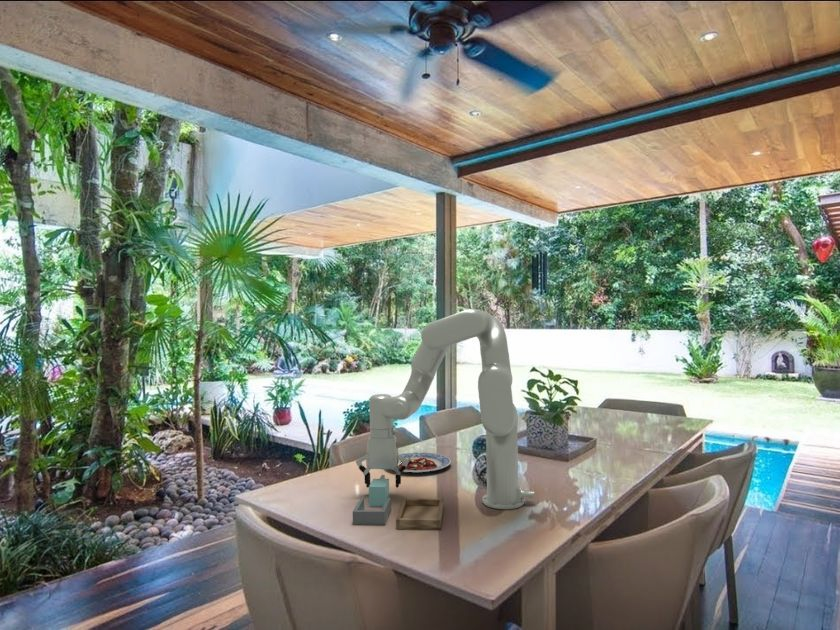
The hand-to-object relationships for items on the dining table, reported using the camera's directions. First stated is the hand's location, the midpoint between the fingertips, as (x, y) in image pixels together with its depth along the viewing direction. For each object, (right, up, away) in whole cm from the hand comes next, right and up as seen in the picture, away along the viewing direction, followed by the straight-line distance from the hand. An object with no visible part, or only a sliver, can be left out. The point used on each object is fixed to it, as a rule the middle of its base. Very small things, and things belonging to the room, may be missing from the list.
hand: (382, 486), depth 165 cm
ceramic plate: (+11, -3, +31) cm, 33 cm away
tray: (+12, -2, -20) cm, 23 cm away
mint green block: (0, -3, -4) cm, 5 cm away
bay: (-2, -3, -18) cm, 18 cm away
